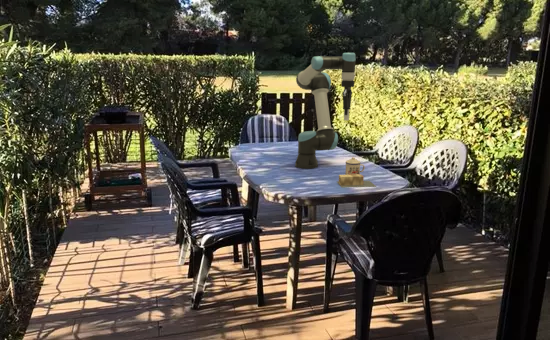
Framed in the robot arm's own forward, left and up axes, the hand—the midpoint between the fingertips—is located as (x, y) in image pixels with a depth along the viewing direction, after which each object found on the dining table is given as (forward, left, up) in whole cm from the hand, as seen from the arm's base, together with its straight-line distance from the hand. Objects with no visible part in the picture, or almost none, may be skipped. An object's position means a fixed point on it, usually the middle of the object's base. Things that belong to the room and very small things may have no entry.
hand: (346, 120), depth 263 cm
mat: (+17, +12, -34) cm, 40 cm away
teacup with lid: (-3, +6, -35) cm, 35 cm away
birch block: (+15, +15, -31) cm, 38 cm away
